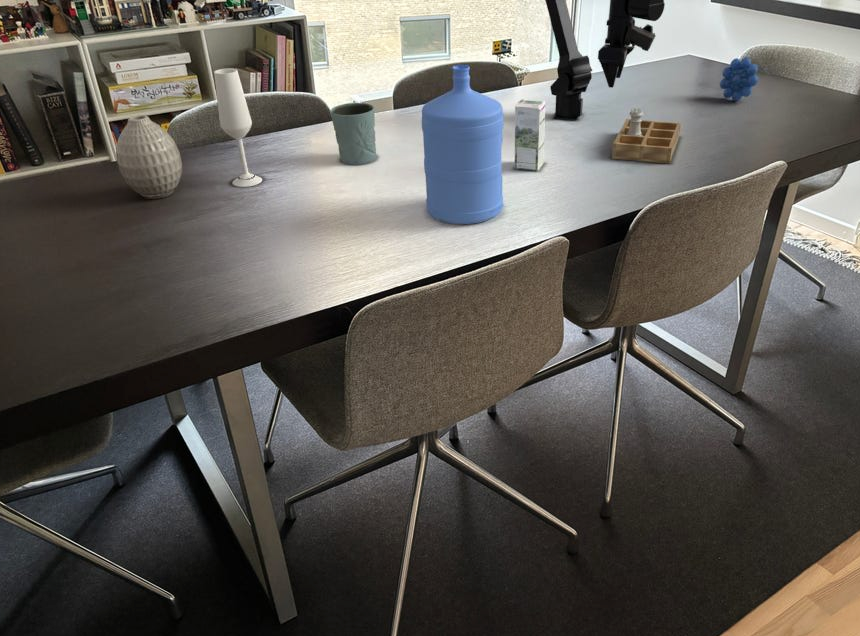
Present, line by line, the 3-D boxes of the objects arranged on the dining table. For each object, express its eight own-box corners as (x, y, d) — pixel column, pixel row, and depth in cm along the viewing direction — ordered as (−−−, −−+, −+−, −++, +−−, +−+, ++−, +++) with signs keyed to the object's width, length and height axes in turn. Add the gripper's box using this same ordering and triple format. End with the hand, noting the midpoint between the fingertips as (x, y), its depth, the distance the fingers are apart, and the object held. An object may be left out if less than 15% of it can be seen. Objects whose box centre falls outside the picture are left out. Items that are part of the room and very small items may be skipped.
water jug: (478, 232, 144) (475, 81, 129) (411, 216, 152) (401, 72, 136) (516, 204, 155) (519, 62, 139) (453, 190, 162) (448, 54, 146)
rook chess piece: (644, 146, 181) (647, 112, 176) (625, 146, 181) (628, 112, 176) (641, 140, 184) (644, 107, 180) (622, 140, 184) (625, 107, 180)
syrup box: (544, 163, 175) (546, 99, 167) (537, 172, 170) (539, 107, 162) (520, 161, 176) (521, 98, 168) (513, 169, 172) (514, 105, 164)
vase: (131, 209, 158) (108, 130, 149) (124, 190, 167) (101, 114, 158) (193, 197, 163) (175, 120, 153) (183, 179, 172) (164, 105, 163)
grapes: (762, 102, 211) (771, 57, 204) (747, 107, 207) (755, 61, 201) (727, 94, 219) (734, 50, 212) (712, 98, 215) (719, 54, 208)
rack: (611, 158, 176) (612, 143, 174) (625, 133, 192) (626, 118, 190) (669, 163, 172) (671, 148, 170) (678, 137, 188) (680, 122, 186)
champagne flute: (252, 173, 174) (231, 65, 160) (268, 180, 170) (248, 70, 156) (226, 181, 170) (203, 71, 157) (242, 189, 166) (219, 76, 153)
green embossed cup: (387, 158, 180) (383, 107, 174) (355, 169, 174) (349, 117, 168) (360, 149, 186) (354, 100, 180) (327, 160, 180) (321, 109, 174)
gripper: (649, 24, 169) (641, 95, 178) (660, 9, 184) (652, 75, 193) (600, 22, 172) (594, 91, 181) (615, 7, 187) (609, 72, 196)
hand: (614, 82), depth 188 cm, fingers open, 9 cm apart
